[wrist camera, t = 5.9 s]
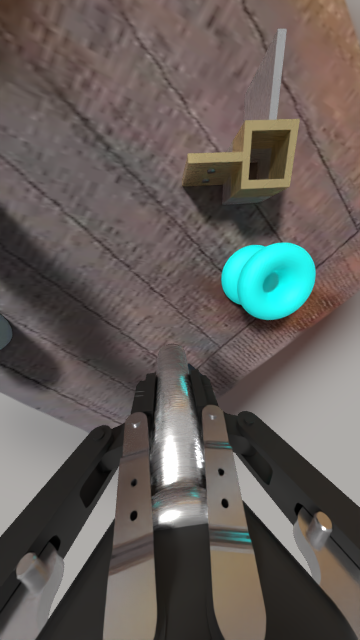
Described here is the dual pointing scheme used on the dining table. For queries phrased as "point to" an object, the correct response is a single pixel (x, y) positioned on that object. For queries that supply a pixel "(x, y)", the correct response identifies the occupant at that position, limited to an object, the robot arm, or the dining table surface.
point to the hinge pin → (176, 446)
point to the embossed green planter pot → (4, 332)
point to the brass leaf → (248, 160)
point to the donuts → (269, 279)
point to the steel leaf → (261, 110)
